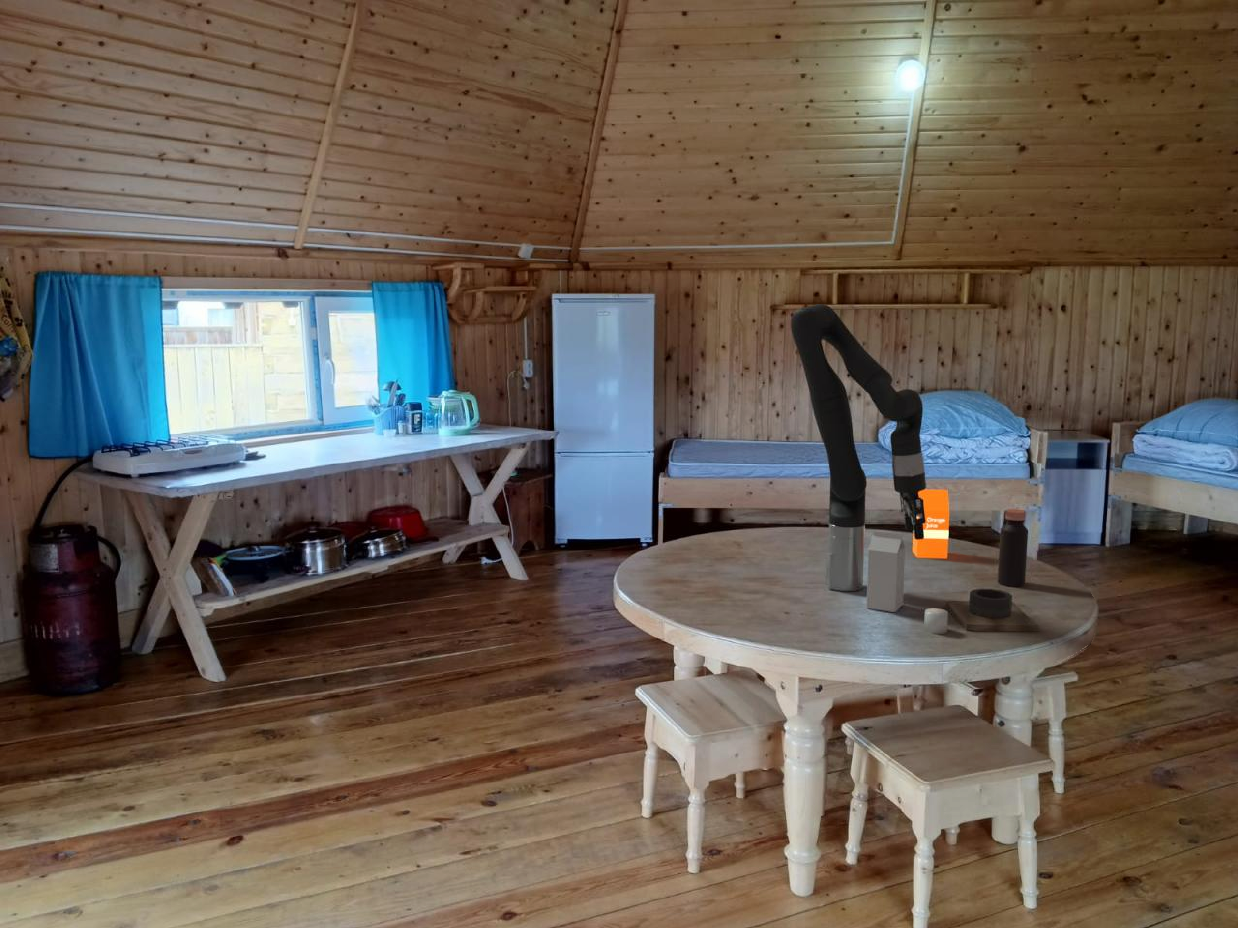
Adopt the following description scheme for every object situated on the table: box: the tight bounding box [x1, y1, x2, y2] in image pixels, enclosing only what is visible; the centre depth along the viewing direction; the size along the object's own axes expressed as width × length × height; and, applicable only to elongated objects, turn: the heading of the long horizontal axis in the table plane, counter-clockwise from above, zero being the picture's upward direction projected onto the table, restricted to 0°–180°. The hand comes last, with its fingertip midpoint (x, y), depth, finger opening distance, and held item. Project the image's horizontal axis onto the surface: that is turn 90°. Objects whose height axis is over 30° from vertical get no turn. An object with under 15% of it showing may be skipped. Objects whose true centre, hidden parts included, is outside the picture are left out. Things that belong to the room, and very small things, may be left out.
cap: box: [923, 607, 949, 635], centre depth 217 cm, size 5×5×4 cm
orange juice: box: [912, 489, 950, 559], centre depth 282 cm, size 8×9×20 cm
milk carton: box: [866, 530, 906, 613], centre depth 233 cm, size 7×7×19 cm
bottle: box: [997, 508, 1029, 588], centre depth 252 cm, size 7×7×20 cm
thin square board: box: [944, 588, 1039, 633], centre depth 225 cm, size 16×18×6 cm
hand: (915, 534), depth 234 cm, fingers open, 8 cm apart
